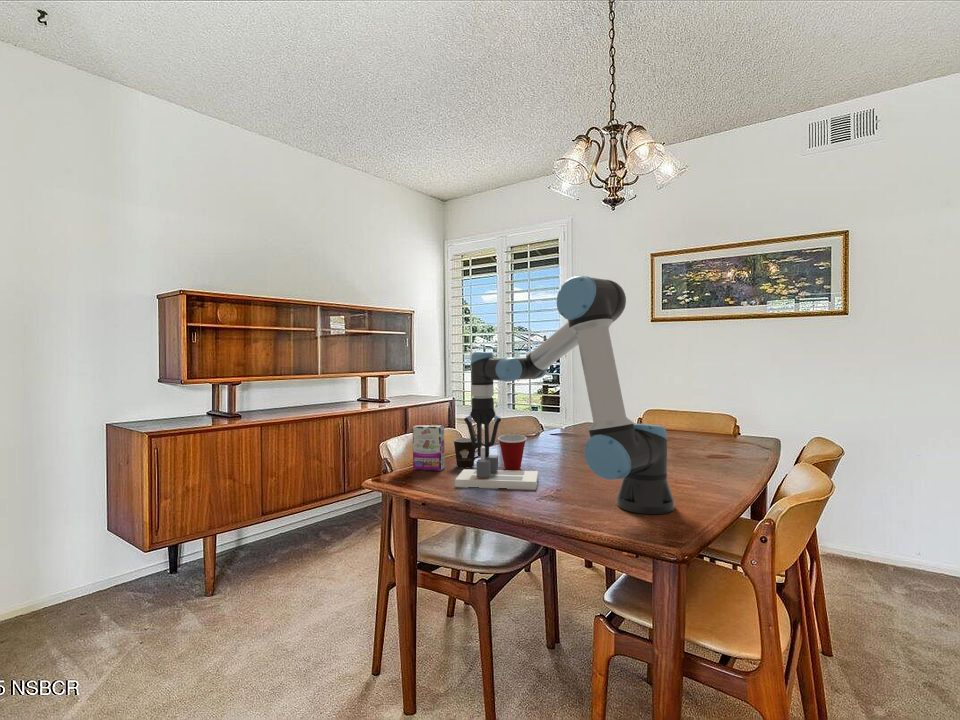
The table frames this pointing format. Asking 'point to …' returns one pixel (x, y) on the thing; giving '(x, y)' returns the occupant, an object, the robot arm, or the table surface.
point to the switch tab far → (493, 462)
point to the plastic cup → (512, 450)
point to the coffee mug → (465, 452)
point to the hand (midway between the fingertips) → (483, 466)
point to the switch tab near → (483, 468)
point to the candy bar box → (428, 447)
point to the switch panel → (498, 479)
